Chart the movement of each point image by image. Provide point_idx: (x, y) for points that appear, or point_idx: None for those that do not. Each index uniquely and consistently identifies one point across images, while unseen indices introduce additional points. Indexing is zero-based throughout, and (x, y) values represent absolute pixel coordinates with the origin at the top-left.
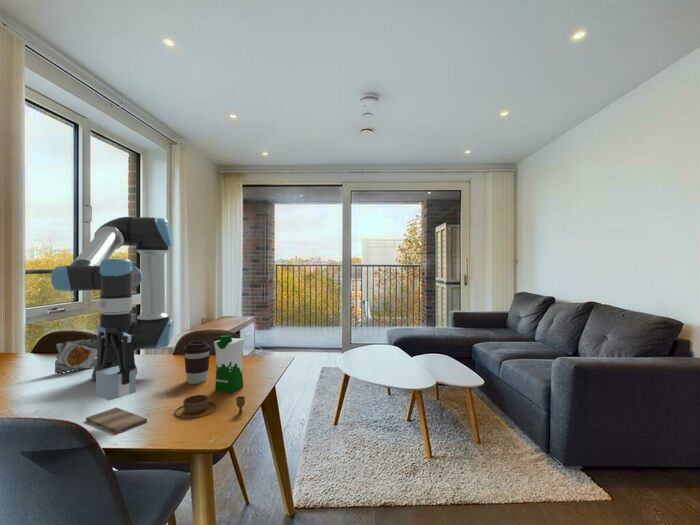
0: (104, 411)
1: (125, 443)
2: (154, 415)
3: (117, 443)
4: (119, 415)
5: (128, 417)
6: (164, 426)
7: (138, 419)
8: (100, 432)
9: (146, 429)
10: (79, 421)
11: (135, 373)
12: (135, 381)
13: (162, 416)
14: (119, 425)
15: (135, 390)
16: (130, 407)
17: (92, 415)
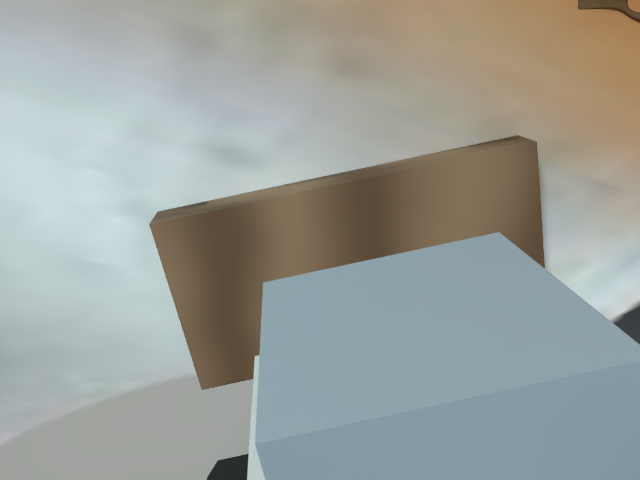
0: (176, 296)
1: (632, 285)
2: (409, 40)
3: (597, 310)
4: (331, 247)
5: (414, 217)
6: (632, 65)
7: (503, 184)
8: None
9: (573, 158)
10: (135, 385)
11: (604, 319)
12: (549, 274)
13: (474, 6)
14: None
15: (505, 239)
16: (112, 108)
17: (194, 359)
